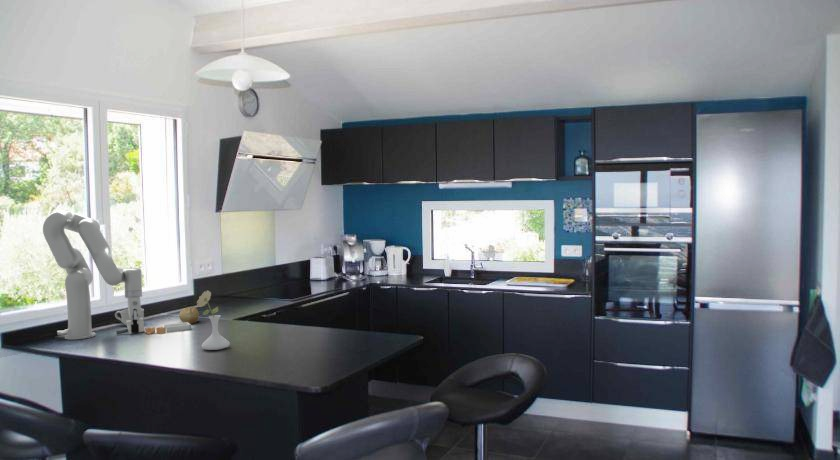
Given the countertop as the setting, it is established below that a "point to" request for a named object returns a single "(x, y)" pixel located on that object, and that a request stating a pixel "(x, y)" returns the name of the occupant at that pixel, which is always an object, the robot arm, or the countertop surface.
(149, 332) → the clip
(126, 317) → the teacup
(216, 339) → the flower in vase
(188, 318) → the bread roll
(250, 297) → the countertop surface
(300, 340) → the countertop surface
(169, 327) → the holder
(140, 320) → the connector
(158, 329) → the clip
